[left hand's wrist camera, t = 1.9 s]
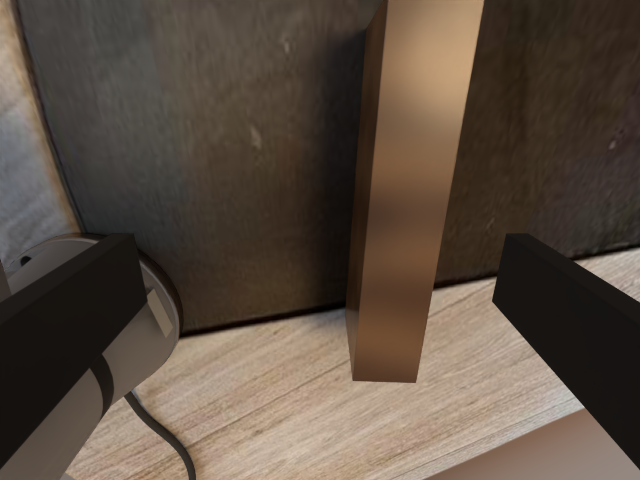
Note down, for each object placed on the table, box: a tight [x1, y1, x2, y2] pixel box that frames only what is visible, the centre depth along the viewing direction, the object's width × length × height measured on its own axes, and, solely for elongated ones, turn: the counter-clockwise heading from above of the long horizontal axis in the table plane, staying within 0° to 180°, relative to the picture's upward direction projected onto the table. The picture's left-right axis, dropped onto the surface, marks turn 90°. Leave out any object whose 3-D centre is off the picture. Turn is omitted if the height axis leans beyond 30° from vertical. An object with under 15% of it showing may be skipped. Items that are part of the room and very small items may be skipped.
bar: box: [345, 0, 485, 383], centre depth 24 cm, size 24×5×9 cm, turn 178°
